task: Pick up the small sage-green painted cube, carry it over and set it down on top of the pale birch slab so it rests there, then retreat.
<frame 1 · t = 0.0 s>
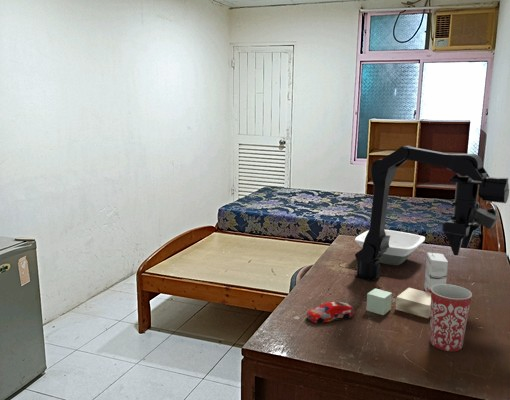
hand: (460, 251, 133), 15 cm above the table, fingers open, 9 cm apart
ink box: (434, 294, 140), on the table
bowl: (388, 260, 172), on the table
mug: (445, 341, 111), on the table
race car: (329, 318, 124), on the table
slab: (417, 309, 130), on the table
cube: (378, 310, 128), on the table
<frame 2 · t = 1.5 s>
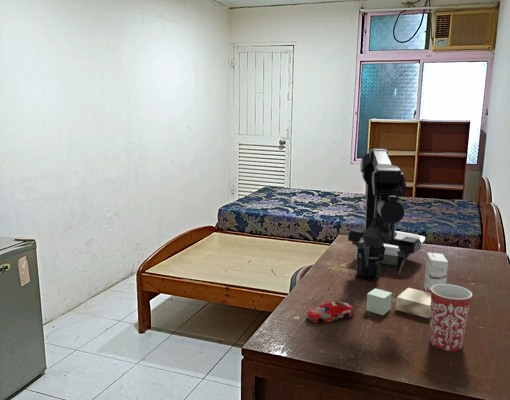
hand: (381, 270, 126), 12 cm above the table, fingers open, 9 cm apart
nothing on the table moved.
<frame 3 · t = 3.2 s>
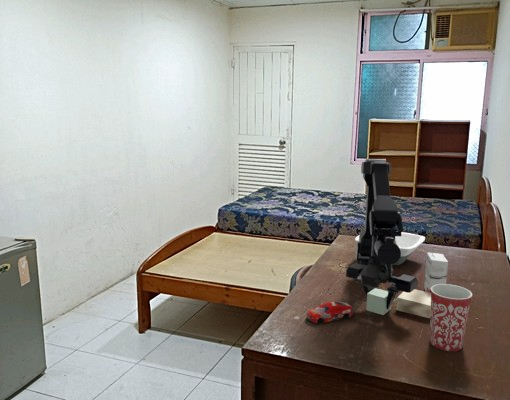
hand: (378, 306, 128), 1 cm above the table, fingers closed on cube, 5 cm apart
cube: (378, 309, 128), on the table, touching gripper
everything else where it was.
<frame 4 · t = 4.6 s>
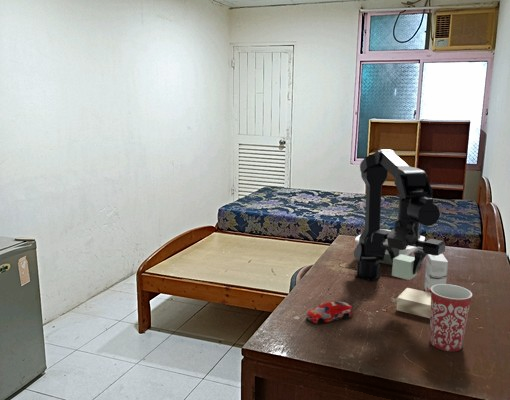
hand: (404, 271, 127), 11 cm above the table, fingers closed on cube, 5 cm apart
cube: (404, 275, 127), point 10 cm above the table, touching gripper
everything else where it was.
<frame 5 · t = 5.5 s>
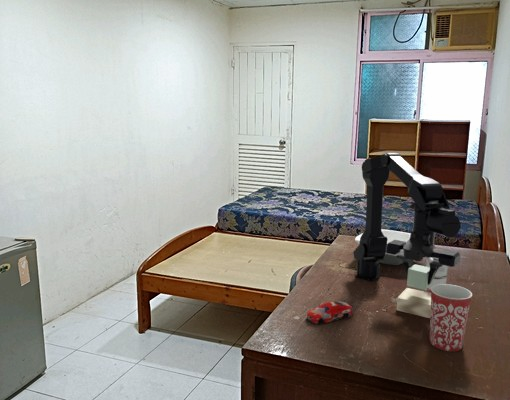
hand: (419, 282, 128), 8 cm above the table, fingers closed on cube, 5 cm apart
cube: (419, 285, 128), point 7 cm above the table, touching gripper
everything else where it was.
when the fingers open (6 cm above the table, at t = 6.2 s): cube drops 1 cm, resting on slab.
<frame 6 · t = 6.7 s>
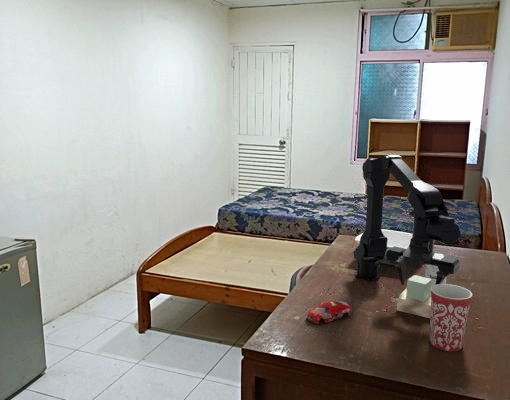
hand: (418, 288, 128), 6 cm above the table, fingers open, 9 cm apart
slab: (417, 309, 130), on the table, touching cube
cube: (418, 296, 129), point 4 cm above the table, touching slab
everything else where it was.
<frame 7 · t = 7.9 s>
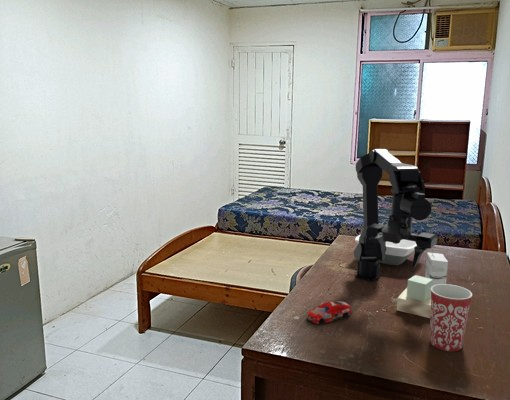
hand: (397, 264, 131), 12 cm above the table, fingers open, 9 cm apart
slab: (417, 309, 130), on the table
cube: (418, 296, 129), point 4 cm above the table
everything else where it was.
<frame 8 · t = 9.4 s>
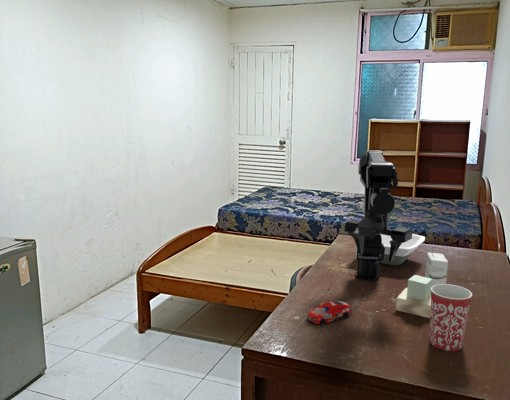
hand: (375, 258, 134), 12 cm above the table, fingers open, 9 cm apart
nothing on the table moved.
at the end: cube 0.4 cm off-centre on the slab, point 4.0 cm above the slab's base; cube tilted 0°; the gripper is holding nothing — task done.
